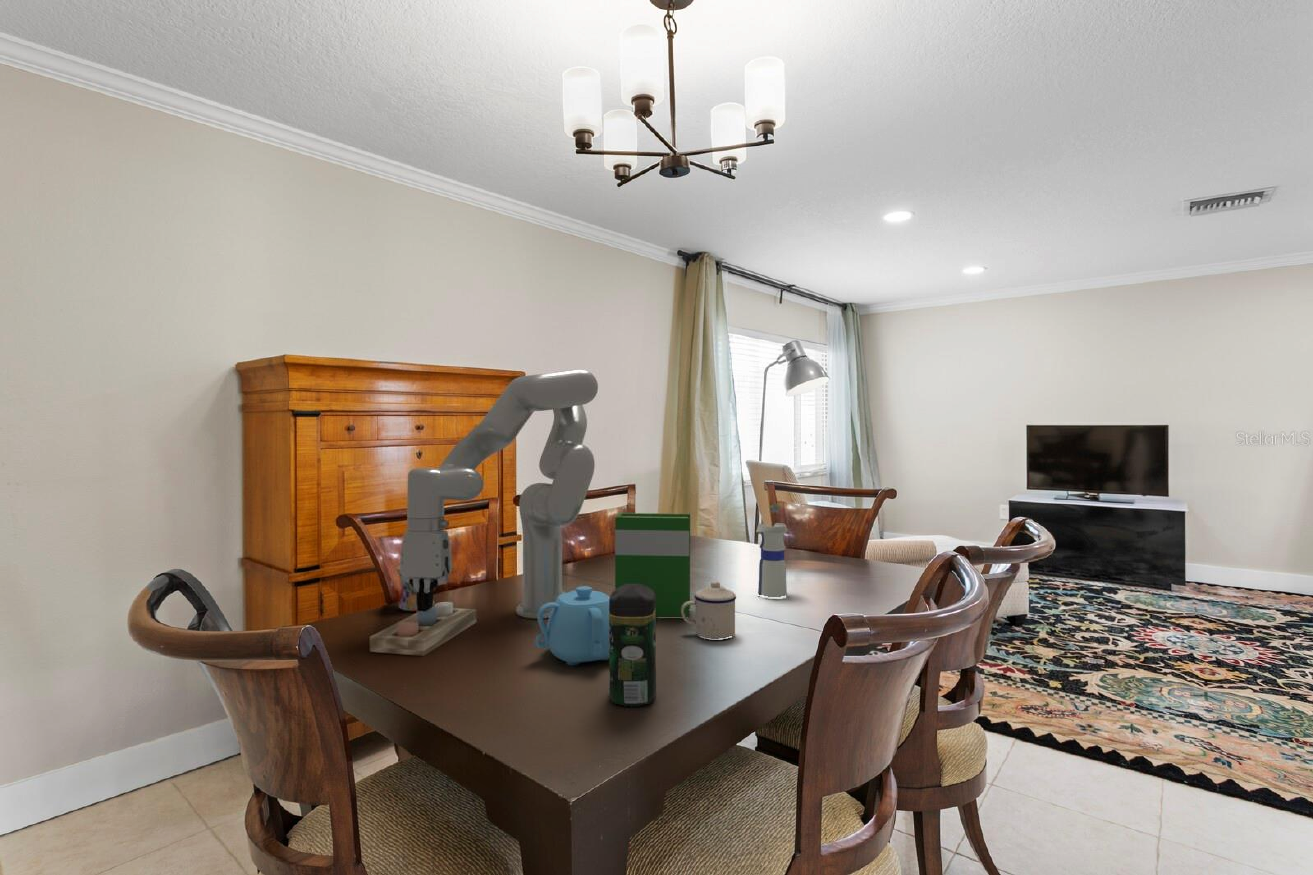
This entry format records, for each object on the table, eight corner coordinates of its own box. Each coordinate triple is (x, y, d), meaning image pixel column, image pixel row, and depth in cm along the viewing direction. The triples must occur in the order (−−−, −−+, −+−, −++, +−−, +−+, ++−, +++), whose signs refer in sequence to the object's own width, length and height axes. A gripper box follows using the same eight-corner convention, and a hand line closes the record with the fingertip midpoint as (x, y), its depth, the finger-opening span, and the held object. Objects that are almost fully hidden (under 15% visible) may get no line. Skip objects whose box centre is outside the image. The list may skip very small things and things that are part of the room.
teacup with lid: (734, 628, 143) (734, 577, 142) (737, 642, 134) (737, 587, 133) (681, 627, 143) (681, 576, 143) (680, 641, 134) (681, 586, 134)
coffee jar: (612, 684, 112) (612, 579, 112) (657, 685, 112) (657, 580, 111) (605, 708, 102) (605, 594, 102) (654, 709, 102) (654, 595, 102)
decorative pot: (525, 661, 123) (524, 591, 123) (574, 636, 137) (574, 574, 137) (594, 677, 115) (594, 603, 115) (639, 649, 129) (638, 583, 129)
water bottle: (751, 592, 174) (752, 501, 173) (782, 591, 175) (782, 501, 174) (760, 600, 166) (760, 505, 165) (791, 599, 167) (792, 505, 166)
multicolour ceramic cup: (420, 615, 153) (420, 571, 152) (388, 611, 155) (388, 568, 155) (450, 601, 164) (450, 561, 164) (419, 599, 167) (419, 558, 167)
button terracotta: (422, 638, 132) (422, 620, 132) (411, 644, 128) (411, 626, 128) (405, 637, 133) (404, 619, 133) (393, 643, 129) (393, 625, 129)
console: (476, 622, 147) (476, 609, 147) (423, 655, 125) (423, 640, 125) (429, 619, 149) (429, 606, 149) (369, 651, 128) (369, 636, 128)
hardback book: (690, 610, 157) (690, 513, 157) (689, 619, 150) (689, 518, 149) (619, 608, 159) (619, 513, 158) (615, 617, 151) (615, 517, 151)
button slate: (440, 623, 139) (440, 607, 139) (430, 629, 135) (430, 612, 135) (423, 622, 140) (423, 606, 140) (413, 628, 136) (413, 611, 136)
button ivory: (456, 618, 146) (456, 602, 146) (447, 623, 142) (447, 607, 142) (440, 617, 147) (440, 601, 147) (431, 622, 143) (430, 606, 143)
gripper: (465, 524, 139) (464, 607, 139) (404, 521, 142) (403, 602, 142) (448, 529, 132) (447, 616, 132) (384, 526, 135) (383, 612, 135)
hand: (424, 609), depth 137 cm, fingers closed
